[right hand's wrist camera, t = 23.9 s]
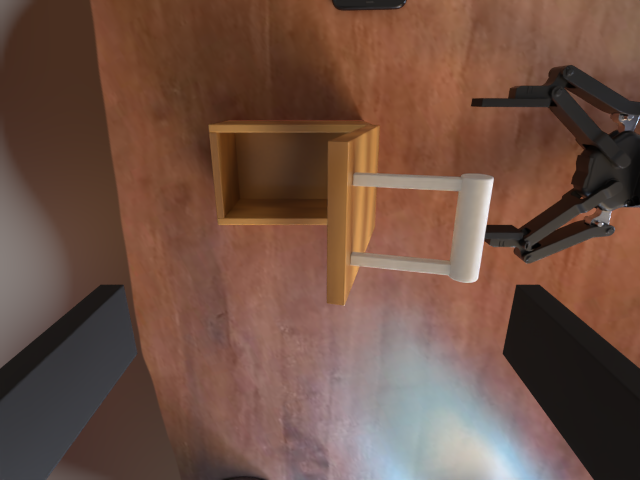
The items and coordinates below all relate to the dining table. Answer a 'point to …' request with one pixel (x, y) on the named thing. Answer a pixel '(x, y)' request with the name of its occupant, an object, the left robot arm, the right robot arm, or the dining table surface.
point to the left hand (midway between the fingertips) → (466, 170)
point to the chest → (273, 170)
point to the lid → (360, 205)
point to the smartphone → (368, 4)
